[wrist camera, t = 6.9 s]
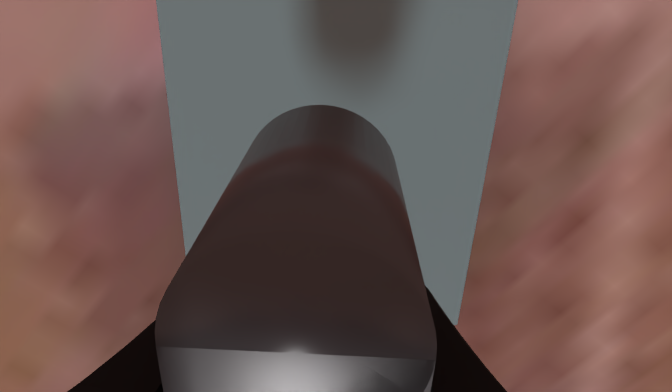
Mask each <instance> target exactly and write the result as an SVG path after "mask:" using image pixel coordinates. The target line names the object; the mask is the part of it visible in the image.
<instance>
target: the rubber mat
mask: <svg viewBox="0 0 672 392" xmlns="http://www.w3.org/2000/svg"><path fill="white" fill-rule="evenodd" d="M517 3H518V0H156V4H157V12H158V21H159V29H160V38H161V46H162V55H163V64H164V72H165V81H166V89H167V98H168V106H169V115H170V124H171V132H172V141H173V149H174V158H175V166H176V175H177V184H178V192H179V201H180V209H181V218H182V227H183V235H184V244H185V252H186V255H187V254H188V252H189V250H190V249H191V247H192V245H193V243H194V242H195V240H196V238H197V237H198V235H199V233H200V232H201V230H202V228H203V226H204V225H205V223H206V221H207V220H208V218H209V216H210V214H211V213H212V211H213V209H214V208H215V206H216V204H217V202H218V201H219V199H220V197H221V196H222V194H223V192H224V190H225V189H226V187H227V185H228V184H229V182H230V180H231V178H232V177H233V175H234V173H235V172H236V170H237V168H238V166H239V165H240V163H241V161H242V160H243V158H244V156H245V154H246V153H247V151H248V149H249V148H250V146H251V144H252V142H253V141H254V139H255V138H256V136H257V135H258V133H259V132H260V131H261V130H262V129H263V128H264V127H265V125H267V124H268V123H269V122H270V121H272V120H273V119H274V118H276V117H277V116H279V115H281V114H282V113H285V112H287V111H289V110H291V109H295V108H298V107H302V106H309V105H330V106H336V107H340V108H344V109H347V110H349V111H352V112H354V113H356V114H358V115H360V116H362V117H363V118H365V119H366V120H367V121H369V122H370V123H371V124H372V125H374V126H375V127H376V128H377V129H378V130H379V131H380V133H381V134H382V135H383V136H384V138H385V139H386V141H387V143H388V144H389V146H390V148H391V150H392V153H393V155H394V159H395V162H396V166H397V171H398V175H399V179H400V183H401V187H402V192H403V196H404V200H405V204H406V208H407V213H408V217H409V221H410V225H411V229H412V234H413V238H414V242H415V246H416V250H417V255H418V259H419V263H420V267H421V271H422V276H423V280H424V284H425V286H426V287H427V288H428V289H429V290H430V292H431V293H432V295H433V296H434V298H435V299H436V301H437V302H438V304H439V305H440V307H441V308H442V310H443V311H444V312H445V314H446V315H447V317H448V318H449V319H450V321H451V322H452V324H453V325H457V323H458V317H459V312H460V307H461V301H462V296H463V291H464V285H465V280H466V275H467V269H468V264H469V259H470V253H471V248H472V243H473V237H474V232H475V227H476V221H477V216H478V211H479V205H480V200H481V195H482V190H483V184H484V179H485V174H486V168H487V163H488V158H489V152H490V147H491V142H492V136H493V131H494V126H495V120H496V115H497V110H498V104H499V99H500V94H501V88H502V83H503V78H504V72H505V67H506V62H507V56H508V51H509V46H510V40H511V35H512V30H513V25H514V19H515V14H516V9H517Z"/></svg>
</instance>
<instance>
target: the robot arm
mask: <svg viewBox="0 0 672 392" xmlns="http://www.w3.org/2000/svg"><path fill="white" fill-rule="evenodd" d="M425 288H426V293H427V297H428V301H429V305H430V309H431V314H432V318H433V322H434V326H435V330H436V339H437V353H436V363H435V369H434V374H433V380H432V386H431V392H507V391H506V390H505V389H504V388H503V387H502V385H501V384H500V383H499V382H498V381H497V380H496V378H495V377H494V376H493V375H492V374H491V373H490V371H489V370H488V369H487V368H486V367H485V365H484V364H483V363H482V361H481V360H480V359H479V358H478V356H477V355H476V354H475V353H474V351H473V350H472V349H471V348H470V346H469V345H468V344H467V343H466V341H465V340H464V339H463V337H462V336H461V335H460V333H459V332H458V331H457V329H456V328H455V326H454V325H453V324H452V322H451V321H450V319H449V318H448V317H447V315H446V314H445V312H444V311H443V310H442V308H441V307H440V305H439V304H438V302H437V301H436V299H435V298H434V296H433V295H432V293H431V292H430V290H429V289H428V288H427V287H426V286H425ZM155 323H156V320H155V321H154V322H153V323H152V324H150V325H149V326H148V327H147V328H146V329H145V330H144V331H142V332H141V333H140V334H139V335H138V336H137V337H136V338H134V339H133V340H132V341H131V342H130V343H129V344H127V345H126V346H125V347H124V348H123V349H122V350H120V351H119V352H118V353H117V354H115V355H114V356H113V357H112V358H110V359H109V360H108V361H107V362H105V363H104V364H103V365H102V366H100V367H99V368H98V369H97V370H95V371H94V372H93V373H92V374H90V375H89V376H88V377H87V378H85V379H84V380H83V381H81V382H80V383H79V384H77V385H76V386H75V387H73V388H72V389H70V390H69V391H68V392H163V387H162V381H161V375H160V369H159V363H158V357H157V351H156V342H155Z"/></svg>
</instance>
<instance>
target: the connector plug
mask: <svg viewBox="0 0 672 392" xmlns="http://www.w3.org/2000/svg"><path fill="white" fill-rule="evenodd" d="M155 342H156V351H157V357H158V363H159V369H160V375H161V381H162V387H163V392H431V386H432V380H433V374H434V369H435V363H436V353H437V339H436V330H435V326H434V322H433V318H432V314H431V309H430V305H429V301H428V297H427V293H426V288H425V284H424V280H423V276H422V271H421V267H420V263H419V259H418V255H417V250H416V246H415V242H414V238H413V234H412V229H411V225H410V221H409V217H408V213H407V208H406V204H405V200H404V196H403V192H402V187H401V183H400V179H399V175H398V171H397V166H396V162H395V159H394V155H393V153H392V150H391V148H390V146H389V144H388V143H387V141H386V139H385V138H384V136H383V135H382V134H381V133H380V131H379V130H378V129H377V128H376V127H375V126H374V125H372V124H371V123H370V122H369V121H367V120H366V119H365V118H363V117H362V116H360V115H358V114H356V113H354V112H352V111H349V110H347V109H344V108H340V107H336V106H330V105H309V106H302V107H298V108H295V109H291V110H289V111H287V112H285V113H282V114H281V115H279V116H277V117H276V118H274V119H273V120H272V121H270V122H269V123H268V124H267V125H265V127H264V128H263V129H262V130H261V131H260V132H259V133H258V135H257V136H256V138H255V139H254V141H253V142H252V144H251V146H250V148H249V149H248V151H247V153H246V154H245V156H244V158H243V160H242V161H241V163H240V165H239V166H238V168H237V170H236V172H235V173H234V175H233V177H232V178H231V180H230V182H229V184H228V185H227V187H226V189H225V190H224V192H223V194H222V196H221V197H220V199H219V201H218V202H217V204H216V206H215V208H214V209H213V211H212V213H211V214H210V216H209V218H208V220H207V221H206V223H205V225H204V226H203V228H202V230H201V232H200V233H199V235H198V237H197V238H196V240H195V242H194V243H193V245H192V247H191V249H190V250H189V252H188V254H187V255H186V257H185V259H184V261H183V262H182V264H181V266H180V267H179V269H178V271H177V273H176V274H175V276H174V278H173V279H172V281H171V283H170V285H169V286H168V288H167V290H166V292H165V294H164V296H163V298H162V300H161V302H160V305H159V309H158V312H157V316H156V323H155Z"/></svg>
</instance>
